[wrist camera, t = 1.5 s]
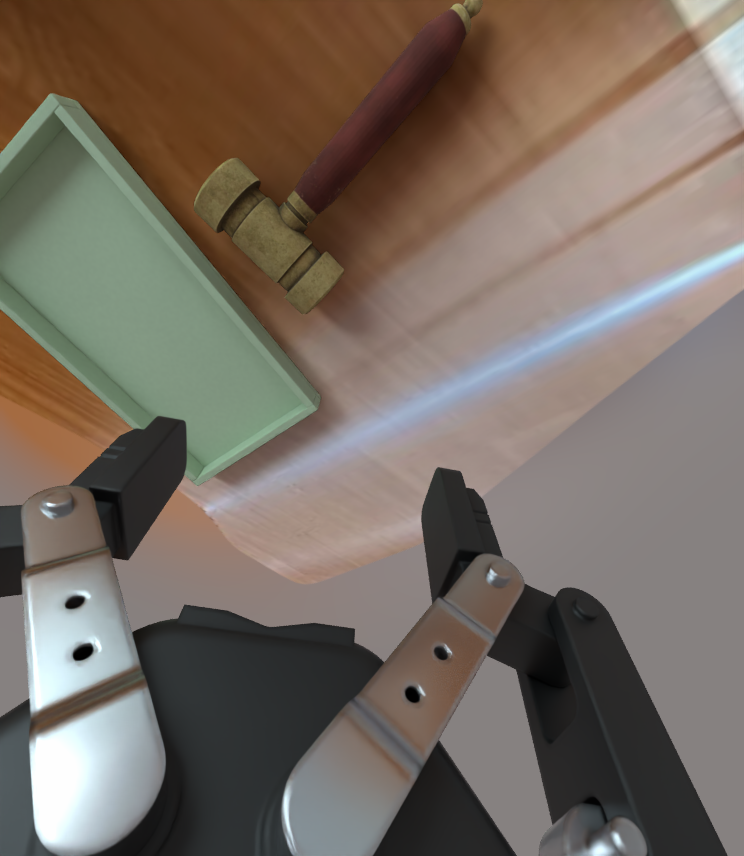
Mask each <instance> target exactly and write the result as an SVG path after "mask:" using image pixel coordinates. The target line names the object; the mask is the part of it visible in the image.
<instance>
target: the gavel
mask: <svg viewBox="0 0 744 856" xmlns="http://www.w3.org/2000/svg"><path fill="white" fill-rule="evenodd" d="M482 4H483V1H482V0H465V3H464V5H463V6H462V5H461V4H458V3H457V4H454V5H453V6H452V7H451V9H449V10H448V11H446V12H445V13H443V14H441V15H440V16H438V17H436V18H435V19H433V20H431V21H430V22H428V23H426V24H425V26H424V27H423V28H422V29H421V30H420V32H419V33H418V34H417V35H416V37H415V38H414V39H413V40H412V41H411V43H410V44H409V45H408V46H407V48H406V49H405V50H404V51H403V52H402V54H401V55H400V56H399V57H398V59H397V60H396V61H395V62H394V63H393V65H392V66H391V67H390V68H389V70H388V71H387V72H386V73H385V74H384V76H383V77H382V78H381V79H380V81H379V82H378V83H377V84H376V85H375V87H374V88H373V89H372V90H371V92H370V93H369V94H368V95H367V96H366V98H365V99H364V100H363V101H362V103H361V104H360V105H359V106H358V107H357V109H356V110H355V111H354V112H353V113H352V115H351V116H350V117H349V118H348V120H347V121H346V122H345V123H344V124H343V126H342V127H341V128H340V129H339V131H338V132H337V133H336V134H335V135H334V137H333V138H332V139H331V140H330V142H329V143H328V144H327V145H326V146H325V148H324V149H323V150H322V151H321V153H320V154H319V155H318V156H317V157H316V159H315V160H314V161H313V162H312V164H311V165H310V166H309V167H308V168H307V170H306V171H305V172H304V174H303V176H302V177H301V179H300V181H299V183H298V184H297V186H296V188H295V190H294V191H293V192H292V193H291V195H290V196H289V197H288V198H287V199H288V202H287V203H285V202H283V204H282V205H281V206H280V207H278V206H277V205H276V204H275V203H274V202H273V201H272V200H271V199H270V198H269V197H268V198H266V197H265V196H264V195H263V194H262V193H261V192H260V190H259V186H260V180H259V179H258V178H257V177H256V176H255V175H254V174H253V173H252V172H251V171H250V170H249V169H248V168H247V167H246V166H245V165H244V164H243V162H242V161H241V160H240V159H239V158H232V159H229V160H227V161H225V162H224V163H223V164H221V165H220V166H219V167H218V168H217V169H216V170H215V171H214V172H213V173H212V174H211V175H210V176H209V178H208V179H207V180H206V181H205V183H204V184H203V186H202V187H201V189H200V191H199V192H198V194H197V196H196V199H195V203H194V211H195V212H196V213H197V214H198V215H199V216H200V217H201V218H202V219H203V220H204V221H205V222H206V223H207V224H208V225H209V226H210V227H211V228H212V229H213V230H214V231H215V232H217V233H219V232H222V231H223V230H224V231H225V232H226V233H227V234H228V235H229V236H230V237H232V242H233V243H235V244H236V245H237V246H238V247H239V248H240V249H241V250H242V251H243V252H244V253H245V254H246V255H247V256H248V257H249V258H250V259H251V260H252V261H253V262H254V263H255V264H256V265H257V266H258V267H260V268H261V269H262V270H263V271H264V272H265V273H266V274H267V275H268V276H269V277H270V278H271V279H272V280H273V281H274V282H275V283H279V284H280V285H281V286H282V287H283V288H285V289H286V290H287V291H288V293H287V294H286V296H285V298H286V299H287V300H288V301H289V302H290V303H291V304H292V305H293V306H294V307H295V308H296V309H297V310H298V311H299V312H300V313H302V314H307V313H309V312H310V311H311V310H312V309H313V308H314V307H315V306H316V305H317V304H318V303H319V302H320V301H321V300H322V299H323V298H324V297H325V296H326V294H327V293H328V292H329V291H330V290H331V289H332V288H333V287H334V285H335V284H336V283H337V282H338V281H339V279H340V278H341V277H342V275H343V273H344V269H343V268H342V267H341V265H340V264H339V263H338V262H337V261H336V260H335V259H334V258H333V257H332V256H331V255H330V254H329V253H328V252H327V251H326V252H324V253H323V254H322V255H321V254H320V253H319V252H318V251H317V250H316V249H315V248H314V247H313V246H312V243H313V242H312V241H311V240H310V239H309V238H308V237H307V236H306V235H305V234H304V233H303V232H304V231H305V230H306V229H307V227H308V226H307V223H308V222H309V223H311V222H312V221H313V220H314V219H315V217H316V216H317V215H318V214H319V213H321V212H322V211H323V210H324V209H326V208H327V207H328V206H329V205H331V204H332V203H333V202H334V200H335V199H336V198H337V197H338V196H339V195H340V193H341V192H342V191H343V190H344V189H345V188H346V187H347V185H348V184H349V183H350V182H351V181H352V180H353V178H354V177H355V176H356V175H357V174H358V173H359V172H360V170H361V169H362V168H363V167H364V166H365V165H366V163H367V162H368V161H369V160H370V159H371V158H372V157H373V155H374V154H375V153H376V152H377V151H378V150H379V148H380V147H381V146H382V145H383V144H384V143H385V142H386V140H387V139H388V138H389V137H390V136H391V135H392V133H393V132H394V131H395V130H396V129H397V128H398V127H399V125H400V124H401V123H402V122H403V121H404V120H405V118H406V117H407V116H408V115H409V114H410V113H411V111H412V110H413V109H414V108H415V107H416V106H417V105H418V103H419V102H420V101H421V100H422V99H423V98H424V96H425V95H426V94H427V93H428V92H429V91H430V90H431V88H432V87H433V86H434V85H435V84H436V83H437V81H438V80H439V79H440V78H441V77H442V76H443V75H444V73H445V72H446V71H447V70H448V69H449V68H450V66H451V65H452V64H453V61H454V59H455V57H456V55H457V53H458V51H459V49H460V47H461V44H462V42H463V40H464V38H465V36H466V35H467V33H468V32H469V31H470V28H471V20H470V19H471V18H472V17H473V16H475V15H477V14H478V13H479V11H480V9H481V7H482Z"/></svg>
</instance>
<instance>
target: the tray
mask: <svg viewBox="0 0 744 856" xmlns="http://www.w3.org/2000/svg"><path fill="white" fill-rule="evenodd" d="M0 309H1V310H2V311H3V312H4V313H5V314H6V315H8V316H9V317H10V318H11V319H12V320H13V321H14V322H15V323H16V324H18V325H19V326H20V327H21V328H22V329H23V330H24V331H25V332H26V333H28V334H29V335H30V336H31V337H32V338H33V339H34V340H35V341H36V342H38V343H39V344H40V345H41V346H42V347H43V348H44V349H45V350H46V351H48V352H49V353H50V354H51V355H52V356H53V357H54V358H55V359H56V360H58V361H59V362H60V363H61V364H62V365H63V366H64V367H65V368H66V369H68V370H69V371H70V372H71V373H72V374H73V375H74V376H75V377H76V378H78V379H79V380H80V381H81V382H82V383H83V384H84V385H85V386H87V387H88V388H89V389H90V390H91V391H92V392H93V393H94V394H95V395H97V396H98V397H99V398H100V399H101V400H102V401H103V402H104V403H105V404H107V405H108V406H109V407H110V408H111V409H112V410H113V411H114V412H115V413H117V414H118V415H119V416H120V417H121V418H122V419H123V420H124V421H125V422H127V423H128V424H129V425H130V426H131V427H132V428H133V429H136V428H139V429H145V428H146V427H147V426H148V425H149V424H150V423H151V422H152V421H153V420H154V419H155V418H156V417H157V416H164V417H169V418H175V419H180V420H184V421H185V422H186V429H187V465H186V470H185V474H184V475H186V476H187V477H188V478H189V479H190V480H191V481H193V483H194V484H195V485H197V486H199V485H201V484H202V483H204V482H205V481H207V480H208V479H210V478H212V477H213V476H215V475H216V474H218V473H219V472H221V471H223V470H224V469H226V468H227V467H229V466H230V465H232V464H234V463H235V462H237V461H238V460H240V459H241V458H243V457H245V456H246V455H248V454H249V453H251V452H252V451H254V450H255V449H257V448H259V447H260V446H262V445H263V444H265V443H266V442H268V441H270V440H271V439H273V438H274V437H276V436H277V435H279V434H281V433H282V432H284V431H285V430H287V429H288V428H290V427H292V426H293V425H295V424H296V423H298V422H299V421H301V420H303V419H304V418H306V417H307V416H309V415H310V414H312V413H314V412H315V411H317V410H318V407H319V403H320V400H321V396H320V395H319V394H318V393H317V391H316V390H315V389H314V388H313V386H312V385H311V384H310V383H309V382H308V380H307V379H306V378H305V377H304V376H303V374H302V373H301V372H300V371H299V369H298V368H297V367H296V366H295V365H294V363H293V362H292V361H291V360H290V359H289V357H288V356H287V355H286V354H285V352H284V351H283V350H282V349H281V348H280V346H279V345H278V344H277V343H276V342H275V340H274V339H273V338H272V337H271V336H270V334H269V333H268V332H267V331H266V329H265V328H264V327H263V326H262V325H261V323H260V322H259V321H258V320H257V319H256V317H255V316H254V315H253V314H252V312H251V311H250V310H249V309H248V308H247V306H246V305H245V304H244V303H243V302H242V300H241V299H240V298H239V297H238V295H237V294H236V293H235V292H234V291H233V289H232V288H231V287H230V286H229V285H228V283H227V282H226V281H225V280H224V279H223V277H222V276H221V275H220V274H219V272H218V271H217V270H216V269H215V268H214V266H213V265H212V264H211V263H210V262H209V260H208V259H207V258H206V257H205V255H204V254H203V253H202V252H201V251H200V249H199V248H198V247H197V246H196V245H195V243H194V242H193V241H192V240H191V238H190V237H189V236H188V235H187V234H186V232H185V231H184V230H183V229H182V228H181V226H180V225H179V224H178V223H177V222H176V220H175V219H174V218H173V217H172V215H171V214H170V213H169V212H168V211H167V209H166V208H165V207H164V206H163V205H162V203H161V202H160V201H159V200H158V198H157V197H156V196H155V195H154V194H153V192H152V191H151V190H150V189H149V188H148V186H147V185H146V184H145V183H144V181H143V180H142V179H141V178H140V177H139V175H138V174H137V173H136V172H135V171H134V169H133V168H132V167H131V166H130V165H129V163H128V162H127V161H126V160H125V158H124V157H123V156H122V155H121V154H120V152H119V151H118V150H117V149H116V148H115V146H114V145H113V144H112V143H111V141H110V140H109V139H108V138H107V137H106V135H105V134H104V133H103V132H102V131H101V129H100V128H99V127H98V126H97V124H96V123H95V122H94V121H93V120H92V118H91V117H90V116H89V115H88V114H87V112H86V111H85V110H84V109H83V108H82V106H81V105H80V104H79V103H78V101H76V100H73V99H69V98H66V97H62V96H59V95H56V94H52V93H51V94H49V96H48V97H47V98H46V99H45V100H44V102H43V103H42V104H41V105H40V107H39V108H38V109H37V110H36V111H35V113H34V114H33V115H32V116H31V117H30V119H29V120H28V121H27V122H26V123H25V125H24V126H23V127H22V128H21V129H20V131H19V132H18V133H17V134H16V136H15V137H14V138H13V139H12V140H11V142H10V143H9V144H8V145H7V146H6V148H5V149H4V150H3V151H2V152H1V154H0Z"/></svg>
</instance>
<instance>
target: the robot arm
mask: <svg viewBox="0 0 744 856" xmlns="http://www.w3.org/2000/svg"><path fill="white" fill-rule="evenodd" d="M186 465H187V429H186V422H185V421H184V420H180V419H175V418H169V417H164V416H157V417H156V418H155V419H154V420H153V421H152V422H151V423H150V424H149V425H148V426H147V427H146V428H145V429H139V428H136V429H134V430H131V431H129V432H127V433H125V434H123V435H121V436H119V437H118V438H117V439H116V440H115V441H114V442H113V443H112V444H111V445H110V447H109V448H107V449H106V450H105V451H104V452H103V453H102V454H101V456H100V457H98V458H97V459H96V460H95V461H94V462H93V463H91V464H90V465H89V467H87V468H86V469H85V470H84V471H83V472H82V473H81V474H80V475H79V476H78V477H77V478H76V479H75V480H74V481H73V482H72V483H71V484H70V485H66V486H57V487H52V488H49V489H46V490H43V491H40V492H38V493H36V494H34V495H33V496H32V497H30V498H29V499H28V500H27V501H26V502H25V503H24V504H23V505H16V506H0V597H5V596H13V595H21V594H22V595H23V610H24V624H25V638H26V653H27V668H28V682H29V696H30V698H29V699H28V700H26V701H24V702H23V703H21V704H20V705H18V706H17V707H15V708H14V709H12V710H11V711H9V712H8V713H6V714H5V715H3V716H1V717H0V856H517V855H516V854H515V852H514V851H513V850H512V848H511V847H510V845H509V844H508V842H507V841H506V839H505V838H504V836H503V835H502V833H501V832H500V830H499V829H498V827H497V826H496V824H495V823H494V821H493V820H492V818H491V817H490V815H489V814H488V812H487V811H486V809H485V808H484V806H483V805H482V803H481V802H480V800H479V799H478V797H477V796H476V794H475V793H474V792H473V790H472V789H471V787H470V786H469V784H468V783H467V781H466V780H465V778H464V777H463V775H462V774H461V772H460V771H459V769H458V768H457V766H456V765H455V763H454V762H453V760H452V759H451V757H450V756H449V754H448V753H447V751H446V750H445V748H444V747H443V745H442V744H441V742H440V741H439V738H440V737H441V735H442V733H443V731H444V729H445V728H446V726H447V724H448V722H449V720H450V719H451V717H452V715H453V714H454V712H455V710H456V708H457V707H458V704H459V703H460V701H461V699H462V698H463V696H464V694H465V692H466V691H467V689H468V687H469V686H470V684H471V682H472V680H473V678H474V677H475V675H476V673H477V671H478V670H479V668H480V666H481V664H482V663H483V661H484V659H485V657H486V656H489V657H491V658H493V659H495V660H497V661H499V662H502V663H504V664H506V665H508V666H510V667H512V668H514V669H516V671H517V675H518V679H519V683H520V688H521V692H522V696H523V701H524V705H525V709H526V713H527V718H528V722H529V726H530V730H531V735H532V739H533V743H534V748H535V752H536V756H537V760H538V765H539V769H540V773H541V778H542V782H543V786H544V790H545V795H546V799H547V803H548V807H549V811H550V816H551V820H552V826H551V827H550V828H549V829H548V830H547V831H546V832H545V834H544V835H543V837H542V840H541V842H540V847H539V856H727V854H726V852H725V849H724V847H723V845H722V843H721V841H720V839H719V837H718V835H717V833H716V831H715V829H714V827H713V825H712V823H711V821H710V819H709V817H708V815H707V813H706V811H705V808H704V806H703V805H702V802H701V800H700V798H699V797H698V794H697V792H696V790H695V788H694V786H693V784H692V782H691V780H690V778H689V776H688V774H687V772H686V770H685V767H684V765H683V763H682V762H681V759H680V757H679V755H678V753H677V751H676V749H675V747H674V745H673V743H672V741H671V739H670V737H669V735H668V733H667V731H666V729H665V727H664V725H663V723H662V721H661V718H660V716H659V714H658V712H657V710H656V708H655V706H654V704H653V702H652V700H651V698H650V696H649V694H648V692H647V690H646V688H645V686H644V684H643V682H642V679H641V678H640V675H639V673H638V671H637V670H636V667H635V665H634V663H633V661H632V659H631V657H630V655H629V653H628V651H627V649H626V647H625V645H624V643H623V640H622V638H621V637H620V634H619V632H618V630H617V628H616V626H615V624H614V622H613V620H612V618H611V616H610V614H609V612H608V611H607V610H606V608H605V607H604V606H603V605H602V604H601V603H600V602H599V601H598V600H597V599H595V598H594V597H593V596H591V595H590V594H588V593H586V592H584V591H582V590H579V589H576V588H563V589H561V590H560V591H559V592H558V593H557V595H556V596H555V597H553V596H551V595H549V594H546V593H544V592H541V591H539V590H537V589H535V588H532V587H530V586H528V585H527V584H525V583H524V580H523V577H522V575H521V573H520V572H519V570H518V569H517V568H516V567H515V566H514V565H513V564H512V563H511V562H509V561H508V560H506V559H504V558H503V556H502V553H501V550H500V547H499V544H498V541H497V539H496V536H495V533H494V530H493V527H492V525H491V521H490V518H489V515H487V509H486V506H485V503H484V501H483V499H482V498H481V497H480V496H479V495H478V493H477V492H476V491H475V490H474V489H470V488H466V486H465V483H464V479H463V476H462V473H461V472H460V471H456V470H450V469H445V468H440V467H438V468H437V469H436V471H435V473H434V476H433V478H432V481H431V484H430V487H429V490H428V493H427V495H426V498H425V501H424V504H423V508H422V516H421V522H422V530H423V537H424V545H425V552H426V558H427V567H428V574H429V582H430V589H431V597H432V605H431V606H430V607H429V609H428V610H427V611H426V612H425V614H424V615H423V616H422V617H421V618H420V620H419V621H418V622H417V623H416V625H415V626H414V627H413V628H412V629H411V631H410V632H409V633H408V634H407V636H406V637H405V638H404V639H403V640H402V642H401V643H400V644H399V645H398V647H397V648H396V649H395V650H394V651H393V653H392V654H391V655H390V656H389V658H388V659H387V660H386V661H385V662H383V661H382V660H381V659H380V658H379V657H378V656H377V655H375V654H374V653H372V652H371V651H370V650H368V649H366V648H365V647H363V646H361V645H359V644H356V643H354V637H355V629H353V628H346V627H339V626H332V625H325V624H318V623H310V624H300V625H289V626H279V627H267V626H264V625H261V624H259V623H256V622H254V621H251V620H249V619H247V618H244V617H242V616H239V615H237V614H234V613H232V612H229V611H225V610H218V609H212V608H205V607H197V606H190V605H184V607H183V609H182V611H181V613H180V616H179V618H178V619H170V620H165V621H160V622H157V623H154V624H151V625H148V626H145V627H143V628H140V629H138V630H136V631H134V632H132V631H131V627H130V624H129V620H128V616H127V613H126V609H125V605H124V601H123V597H122V594H121V590H120V586H119V583H118V579H117V575H116V571H115V568H114V564H113V560H112V558H116V559H122V560H129V558H130V557H131V555H132V554H133V553H134V551H135V549H136V548H137V547H138V545H139V543H140V542H141V540H142V539H143V537H144V536H145V534H146V533H147V532H148V530H149V529H150V527H151V525H152V524H153V523H154V521H155V520H156V518H157V516H158V515H159V514H160V512H161V511H162V509H163V508H164V506H165V505H166V503H167V502H168V500H169V499H170V497H171V496H172V494H173V493H174V491H175V490H176V488H177V487H178V485H179V484H180V482H181V481H182V479H183V476H184V474H185V470H186Z"/></svg>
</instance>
